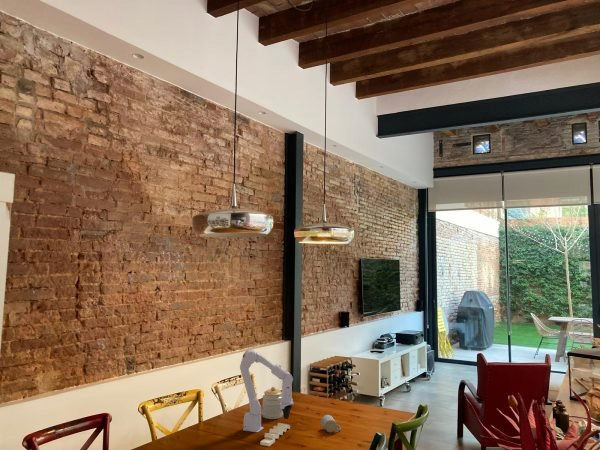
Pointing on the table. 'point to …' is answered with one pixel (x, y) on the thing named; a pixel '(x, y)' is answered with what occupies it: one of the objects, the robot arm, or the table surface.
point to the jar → (272, 404)
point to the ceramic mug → (329, 424)
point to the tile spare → (267, 441)
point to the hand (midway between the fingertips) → (286, 418)
